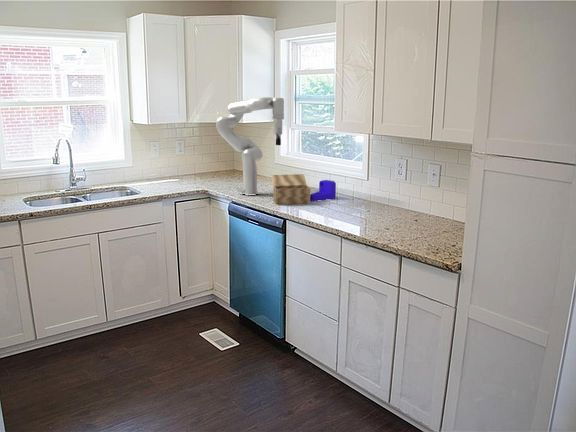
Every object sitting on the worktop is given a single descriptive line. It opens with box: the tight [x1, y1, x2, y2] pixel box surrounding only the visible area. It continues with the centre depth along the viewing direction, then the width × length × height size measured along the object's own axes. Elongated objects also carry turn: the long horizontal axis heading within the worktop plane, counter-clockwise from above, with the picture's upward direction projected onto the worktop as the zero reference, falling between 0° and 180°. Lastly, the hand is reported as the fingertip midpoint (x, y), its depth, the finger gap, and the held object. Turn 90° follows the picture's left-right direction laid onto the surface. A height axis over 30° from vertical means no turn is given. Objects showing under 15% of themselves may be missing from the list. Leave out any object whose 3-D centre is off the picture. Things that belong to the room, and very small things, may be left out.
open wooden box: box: [272, 185, 311, 205], centre depth 339 cm, size 22×12×10 cm, turn 99°
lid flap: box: [271, 173, 308, 186], centre depth 348 cm, size 22×12×1 cm, turn 99°
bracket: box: [310, 179, 337, 202], centre depth 349 cm, size 18×11×12 cm, turn 133°
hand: (278, 145), depth 349 cm, fingers closed
